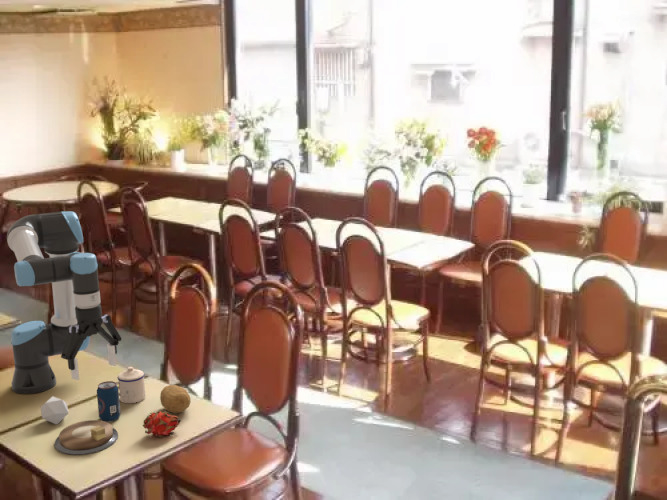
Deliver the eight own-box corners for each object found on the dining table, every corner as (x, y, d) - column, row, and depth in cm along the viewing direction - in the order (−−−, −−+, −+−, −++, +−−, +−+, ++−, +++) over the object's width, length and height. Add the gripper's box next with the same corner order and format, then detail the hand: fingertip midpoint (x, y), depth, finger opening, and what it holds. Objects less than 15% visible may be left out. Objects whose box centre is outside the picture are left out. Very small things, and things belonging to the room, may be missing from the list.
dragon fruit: (140, 441, 255) (178, 439, 260) (145, 436, 248) (184, 434, 253) (140, 414, 258) (177, 413, 263) (144, 408, 251) (182, 407, 256)
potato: (180, 399, 282) (179, 378, 280) (197, 414, 270) (196, 391, 268) (154, 406, 276) (152, 385, 274) (170, 421, 265) (168, 399, 263)
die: (75, 421, 268) (70, 393, 271) (59, 419, 260) (55, 391, 263) (53, 429, 269) (50, 401, 273) (37, 427, 261) (33, 398, 265)
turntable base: (42, 443, 252) (42, 441, 252) (94, 421, 266) (94, 419, 266) (78, 461, 240) (78, 459, 240) (130, 437, 255) (130, 435, 255)
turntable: (49, 440, 252) (47, 425, 251) (92, 421, 264) (91, 407, 263) (79, 455, 242) (78, 439, 241) (123, 435, 254) (122, 420, 253)
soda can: (96, 417, 269) (92, 384, 266) (115, 411, 273) (112, 378, 270) (104, 424, 264) (100, 390, 261) (124, 418, 268) (121, 385, 265)
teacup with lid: (141, 391, 289) (139, 360, 286) (149, 400, 281) (147, 369, 279) (108, 398, 283) (105, 367, 280) (115, 408, 276) (112, 376, 273)
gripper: (59, 318, 230) (66, 388, 235) (129, 296, 249) (134, 361, 254) (43, 313, 235) (51, 382, 239) (113, 293, 254) (119, 356, 259)
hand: (94, 371), depth 247 cm, fingers open, 13 cm apart
